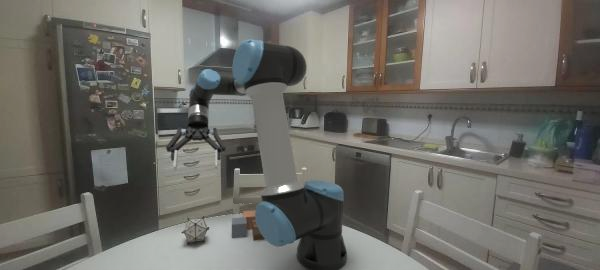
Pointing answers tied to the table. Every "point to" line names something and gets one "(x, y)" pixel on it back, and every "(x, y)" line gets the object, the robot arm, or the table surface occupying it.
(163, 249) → the table surface
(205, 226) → the game die
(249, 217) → the terracotta block
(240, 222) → the slate block
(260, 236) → the walnut block
